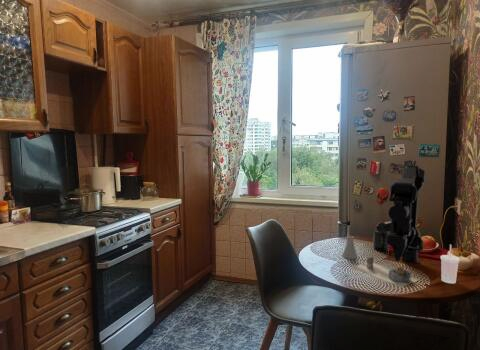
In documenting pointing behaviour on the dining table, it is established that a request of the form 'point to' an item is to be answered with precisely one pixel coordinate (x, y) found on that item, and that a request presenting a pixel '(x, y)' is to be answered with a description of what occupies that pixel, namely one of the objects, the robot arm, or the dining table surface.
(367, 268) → the base board
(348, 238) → the flask
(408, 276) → the steel ring
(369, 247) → the dining table surface
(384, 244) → the supplement bottle
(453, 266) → the beverage cup
